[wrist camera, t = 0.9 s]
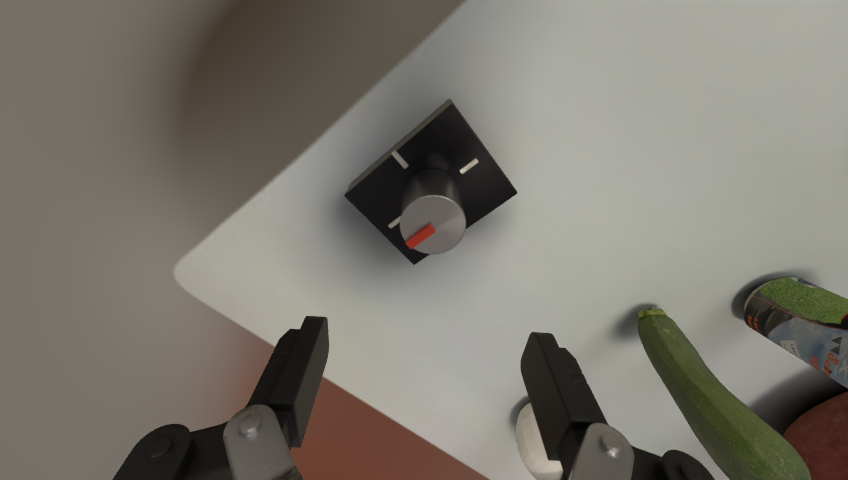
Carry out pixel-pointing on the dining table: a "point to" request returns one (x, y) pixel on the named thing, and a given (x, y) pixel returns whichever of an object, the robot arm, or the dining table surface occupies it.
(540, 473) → the cat figurine
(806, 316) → the beverage can
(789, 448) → the vegetable
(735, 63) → the dining table surface
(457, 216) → the hob knob
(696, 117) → the dining table surface
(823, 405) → the clay pot
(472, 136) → the panel
